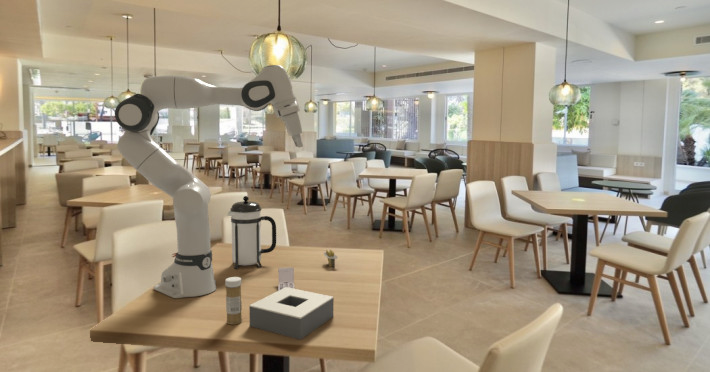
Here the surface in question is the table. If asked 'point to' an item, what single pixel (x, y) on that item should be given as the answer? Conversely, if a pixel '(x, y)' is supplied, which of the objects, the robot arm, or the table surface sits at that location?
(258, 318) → the socket block
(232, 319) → the sprinkles bottle
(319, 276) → the table surface
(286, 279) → the mobile phone
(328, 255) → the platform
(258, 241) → the coffee press
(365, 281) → the table surface
